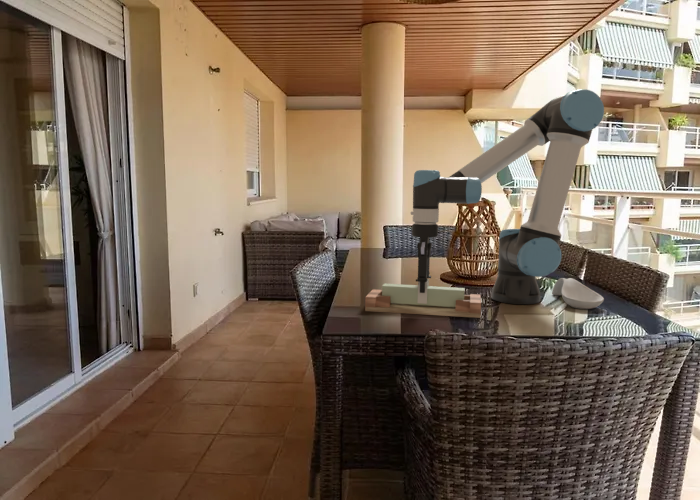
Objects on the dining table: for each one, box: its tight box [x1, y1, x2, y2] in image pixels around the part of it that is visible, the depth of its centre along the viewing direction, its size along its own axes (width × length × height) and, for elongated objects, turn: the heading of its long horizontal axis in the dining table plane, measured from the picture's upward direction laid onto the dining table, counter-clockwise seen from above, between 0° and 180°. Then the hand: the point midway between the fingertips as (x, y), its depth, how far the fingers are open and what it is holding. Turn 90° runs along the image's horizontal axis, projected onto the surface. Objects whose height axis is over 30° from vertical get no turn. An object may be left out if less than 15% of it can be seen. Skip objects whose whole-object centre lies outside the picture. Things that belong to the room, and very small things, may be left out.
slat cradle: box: [364, 288, 482, 319], centre depth 153 cm, size 12×33×4 cm, turn 77°
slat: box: [381, 283, 465, 307], centre depth 153 cm, size 4×24×5 cm, turn 76°
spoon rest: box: [551, 277, 605, 310], centre depth 163 cm, size 24×12×7 cm, turn 1°
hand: (422, 301), depth 153 cm, fingers closed on slat, 4 cm apart
